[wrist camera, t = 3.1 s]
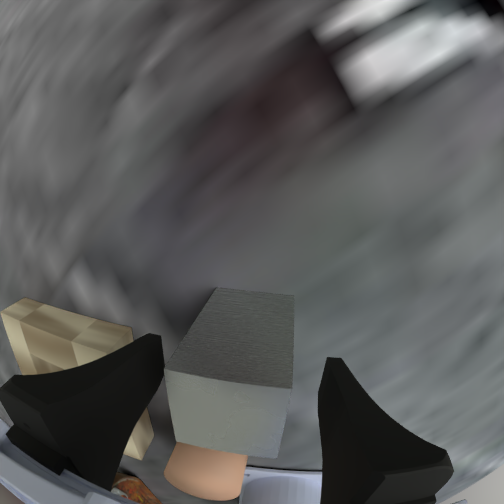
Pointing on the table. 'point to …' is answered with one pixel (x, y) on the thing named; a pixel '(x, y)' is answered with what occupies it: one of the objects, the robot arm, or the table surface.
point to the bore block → (68, 349)
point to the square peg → (234, 374)
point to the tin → (133, 489)
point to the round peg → (206, 472)
